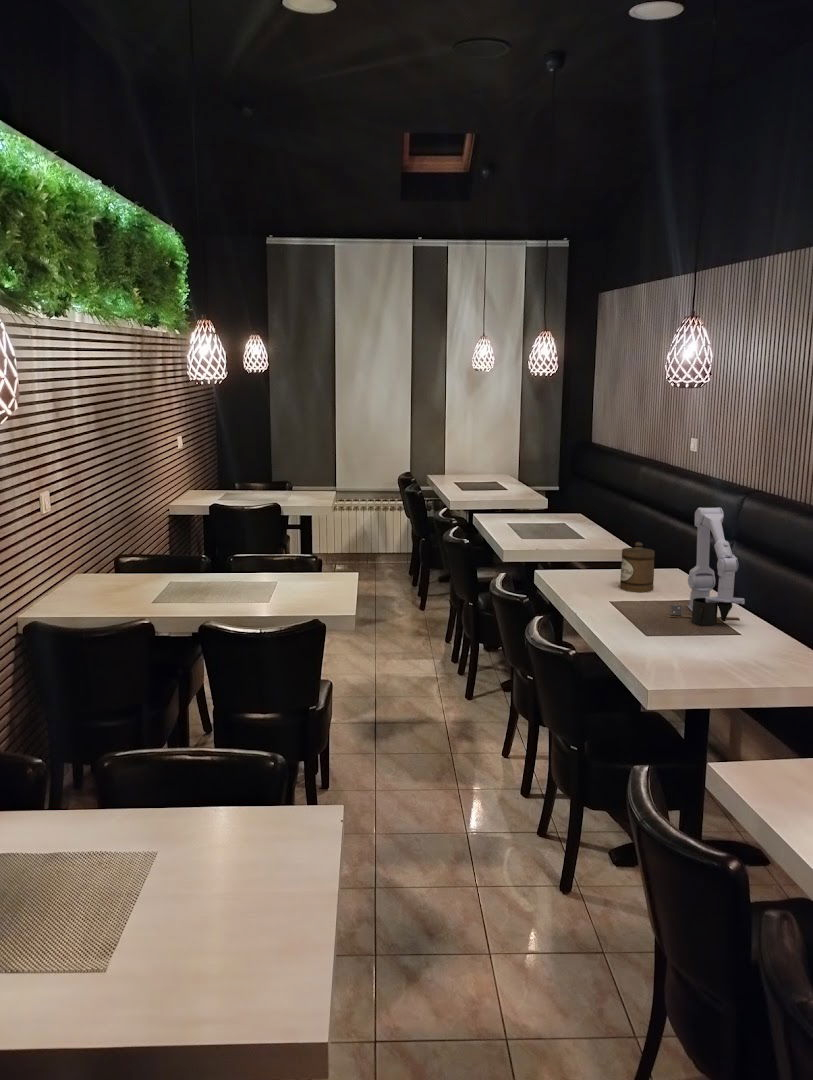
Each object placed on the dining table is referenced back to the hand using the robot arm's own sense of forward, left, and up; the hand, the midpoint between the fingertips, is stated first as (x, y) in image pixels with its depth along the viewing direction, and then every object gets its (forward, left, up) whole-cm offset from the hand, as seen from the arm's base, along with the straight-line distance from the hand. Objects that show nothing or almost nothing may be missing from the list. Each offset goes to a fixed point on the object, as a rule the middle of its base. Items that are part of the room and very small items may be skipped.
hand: (723, 620), depth 342 cm
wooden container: (-56, -26, -2) cm, 62 cm away
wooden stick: (-8, -6, -1) cm, 10 cm away
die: (-9, -17, -1) cm, 19 cm away
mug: (0, -8, -2) cm, 8 cm away
